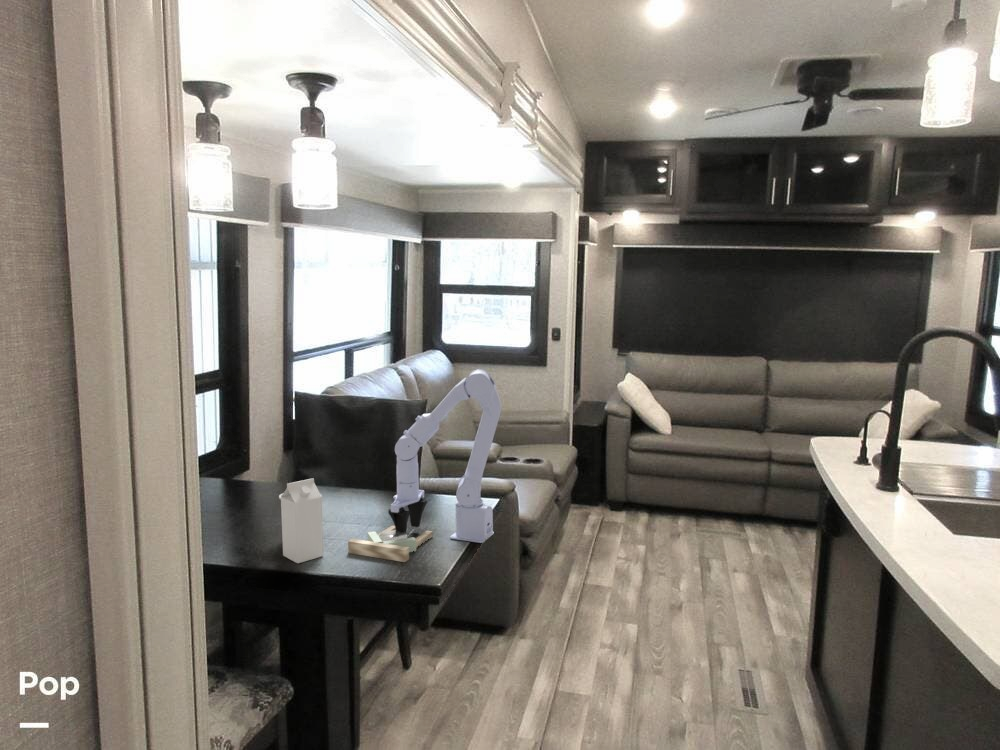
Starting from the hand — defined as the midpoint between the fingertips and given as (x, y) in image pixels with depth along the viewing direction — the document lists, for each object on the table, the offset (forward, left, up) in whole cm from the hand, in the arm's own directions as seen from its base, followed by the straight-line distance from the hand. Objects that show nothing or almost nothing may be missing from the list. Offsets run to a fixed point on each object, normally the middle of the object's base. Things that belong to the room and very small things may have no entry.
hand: (408, 530), depth 187 cm
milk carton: (+17, +22, -2) cm, 28 cm away
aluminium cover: (0, +8, -1) cm, 8 cm away
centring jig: (0, +8, -1) cm, 8 cm away
